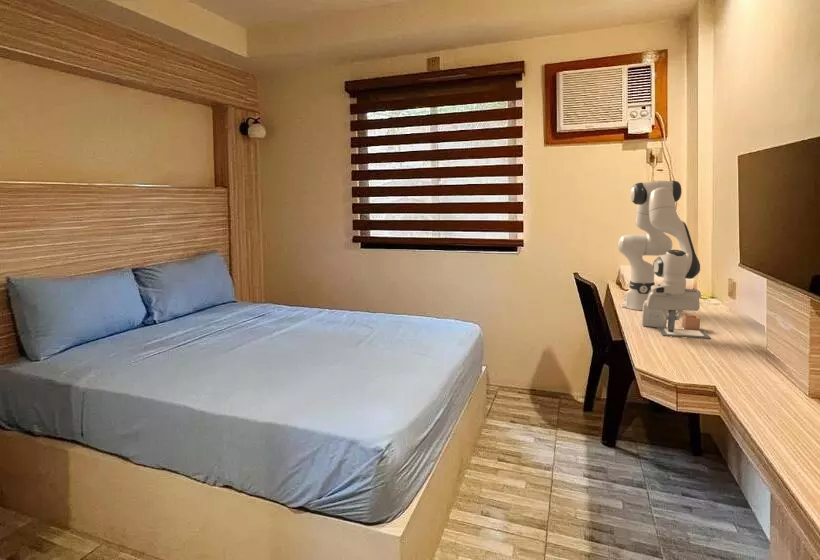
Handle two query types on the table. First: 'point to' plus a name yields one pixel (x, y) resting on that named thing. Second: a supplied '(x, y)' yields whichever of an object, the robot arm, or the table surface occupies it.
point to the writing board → (685, 333)
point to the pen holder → (691, 322)
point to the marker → (671, 320)
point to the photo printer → (653, 317)
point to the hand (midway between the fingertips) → (671, 319)
